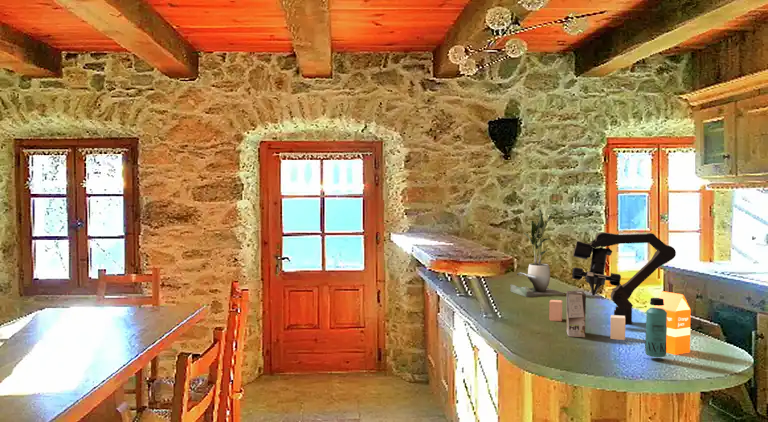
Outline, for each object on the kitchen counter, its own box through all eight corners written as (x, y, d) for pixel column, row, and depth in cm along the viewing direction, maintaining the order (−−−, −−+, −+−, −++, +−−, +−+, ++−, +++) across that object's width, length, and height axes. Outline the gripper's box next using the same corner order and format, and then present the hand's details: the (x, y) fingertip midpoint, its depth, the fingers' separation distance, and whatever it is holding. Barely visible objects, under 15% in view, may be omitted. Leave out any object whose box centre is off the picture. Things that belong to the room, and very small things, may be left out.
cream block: (624, 337, 239) (624, 315, 239) (625, 340, 235) (625, 318, 234) (610, 336, 241) (610, 315, 241) (610, 339, 236) (610, 317, 236)
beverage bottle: (641, 356, 211) (642, 296, 210) (660, 356, 211) (661, 296, 211) (651, 362, 204) (651, 300, 204) (671, 361, 205) (671, 299, 204)
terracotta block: (562, 319, 273) (562, 300, 272) (561, 321, 268) (561, 302, 268) (550, 318, 274) (550, 299, 274) (549, 320, 269) (549, 301, 269)
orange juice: (674, 354, 213) (675, 295, 213) (652, 349, 221) (653, 291, 221) (690, 352, 217) (691, 293, 216) (668, 346, 225) (669, 289, 224)
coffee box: (585, 337, 238) (586, 294, 238) (567, 336, 240) (568, 293, 239) (583, 332, 247) (583, 290, 247) (565, 331, 249) (566, 290, 248)
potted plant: (526, 297, 328) (527, 209, 327) (510, 291, 346) (510, 208, 345) (564, 295, 334) (565, 209, 332) (546, 289, 352) (547, 208, 350)
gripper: (620, 273, 269) (616, 307, 262) (574, 266, 275) (569, 299, 268) (622, 261, 260) (618, 296, 252) (575, 254, 266) (569, 288, 259)
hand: (593, 295), depth 258 cm, fingers closed
